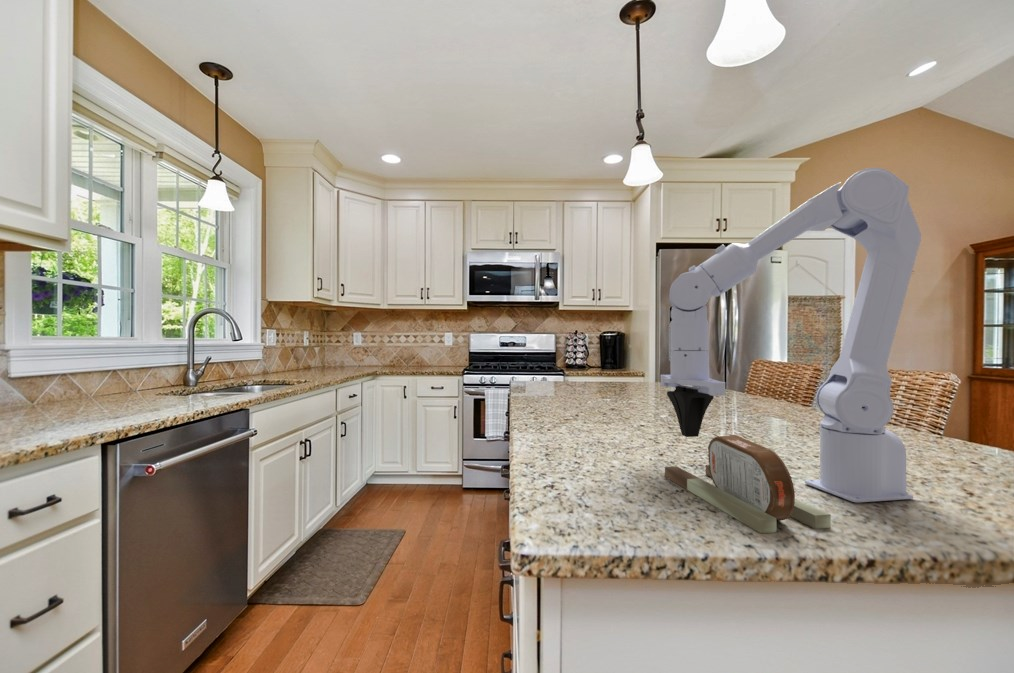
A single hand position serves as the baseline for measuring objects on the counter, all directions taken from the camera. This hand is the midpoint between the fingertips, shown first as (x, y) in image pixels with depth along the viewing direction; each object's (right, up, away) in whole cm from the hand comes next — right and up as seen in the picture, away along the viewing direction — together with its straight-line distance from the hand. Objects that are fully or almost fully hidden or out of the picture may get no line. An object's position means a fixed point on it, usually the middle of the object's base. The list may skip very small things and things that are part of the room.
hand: (690, 435), depth 68 cm
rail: (+2, -6, -10) cm, 12 cm away
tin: (+1, -6, -13) cm, 15 cm away
